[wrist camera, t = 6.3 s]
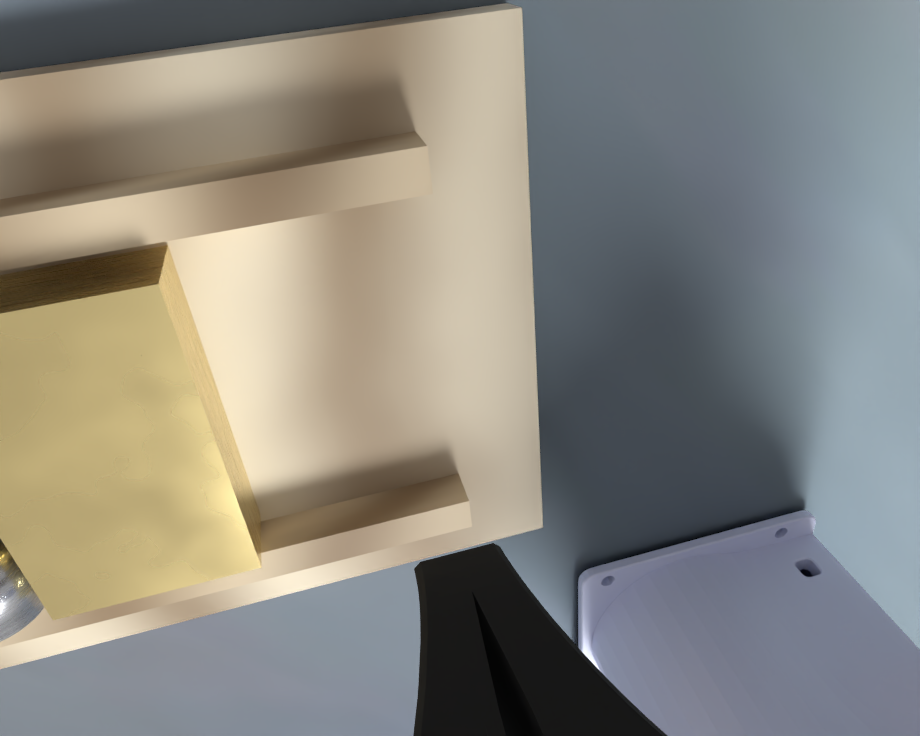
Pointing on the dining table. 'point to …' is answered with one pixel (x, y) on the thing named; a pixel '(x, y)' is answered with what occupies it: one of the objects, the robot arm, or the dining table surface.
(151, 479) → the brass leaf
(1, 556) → the panel
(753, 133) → the dining table surface
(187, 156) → the jig board
